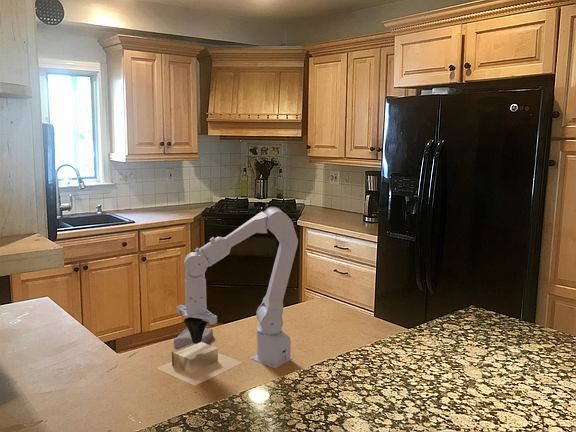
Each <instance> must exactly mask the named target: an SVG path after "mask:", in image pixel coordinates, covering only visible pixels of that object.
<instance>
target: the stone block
mask: <svg viewBox="0 0 576 432" xmlns="http://www.w3.org/2000/svg"><path fill="white" fill-rule="evenodd" d="M213 331H214V330H213V328H208V327H205V329H204V332H203V336H202V341H201V342H203V343H206V344H208V343H209V341H210V340H211V339H213V335H214V333H213ZM192 343H193V342H192V338H191V335H190V332H189V330H188V328H185V329H184V330H183V331H181V332H180V333H179V334H178V335H177V337H175V338H174V339H173V346H174V348H176V349H180V348H183V347H185V346H187V345H190V344H192Z"/></svg>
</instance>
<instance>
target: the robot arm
mask: <svg viewBox="0 0 576 432" xmlns="http://www.w3.org/2000/svg"><path fill="white" fill-rule="evenodd" d="M268 231H269V232H271V233H272V234H273V235H274V237H275V238H276V240H277V241H278V243H279V245H278V247H277V252H276V256H275V260H274V263H273V267H272V272H271V274H270V279H269V282H268V287H267V289H266V294H265V296H264V297H263V298H262V302H261V304H260V305H259V306H258V307H257V309H256V315H255V316H256V318H257V320H258V322H259V323H258V325H257V327H256V355H253V356H251V357H250V360H251V361H253V362H254V361H255V362H257V363H259V364H262V365H265V366H267V367H270V368H274V369H277V368H278V367H280V366H282V365H284V364H286V363H288V362H289V361H291V360H293V358H292V357H291V355H292V354H291V349H292V348H291V346H292V344H291V342H292V341H291V337H290V336H289V335H288V334H287V333H285V332H284V331H283V326H284V320H283V312H284V297H285V295H286V292H287V291H286V290H287V287H288V283H289V279H290V275H291V271H292V268H293V264H294V259H295V257H296V252H297V248H298V245H299V239H298V236H297V232H296V230H295V227H294V222H293V221H292V219H291V218H290V217H289V216H288V214H286V212H283V211H282V210H281V209H280V208H279V207H277V206H270V207H267V208H266V209H265V210H264V211H260V212H259V213H256V214H255V216H253V217H251V218H250V219H249V220H247V221H246V222H244V223H243V224H242V225H239V227H238V228H236V229H234V230H233V231H232V232H230V233H229V234H228V235H226V236H224V237H222V236H217V237H214V236H212V237H211V238H210V239H209V242H207V243H206V244H204V245H203V246H201V247H200V248H199V247H196V248H195V249H194V252H193V251H192V252H191V251H190V252H189V253H187V254H186V256H185V257H184V260H183V265H184V270H185V274H184V276H185V277H184V278H185V279H184V293H185V294H184V295H185V296H184V297H185V299H184V300H185V301H184V302H185V305H184V304H180V305H177V306H176V313H177V314H183V316H182V317H183V318H184V319H183V322H184V324H185V326H186V327H187V329H188V330H189V332H190V335H191V338H192V342H193V343H194V344H198V343H200V342H201V341H202V336H203V332H204V329H205V328H207V325H208V323H209V325H214V324H217V323H218V316H217V315H216V314H213V313H212V312H211V311H209V310H208V309H207V278H206V271H207V269H208V267H212V266H213V265H215V264H216V263H218V262H219V261H221V260H222V259H224V258H225V257H228V255H230V252H231V249H232V247H234V246H236V245H237V244H239V243H241V242H242V241H244V240H247V239H248V238H250V237H251V236H253V235H255V234H268Z"/></svg>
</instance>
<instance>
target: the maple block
mask: <svg viewBox="0 0 576 432" xmlns="http://www.w3.org/2000/svg"><path fill="white" fill-rule="evenodd" d="M218 350H219V348H218V347H217V346H213V345H211V344H208V343H203V342H200V343H198V344H194V343H192V344H190V345H187V346H185V347H183V348H177V349H176V350H173V351H171V362H172V366H175V367H177V368H179V369H182V370H184V371H186V372H189V373H194V372H196V371H198V370H200V369H202V368H204V367H206V366H209V365H211V364H213V363H215V362H217V361H218V353H219V351H218Z"/></svg>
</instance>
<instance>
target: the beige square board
mask: <svg viewBox="0 0 576 432" xmlns="http://www.w3.org/2000/svg"><path fill="white" fill-rule="evenodd" d="M240 364H243V361H240V360H238V359H235V358H232V357H229V356H227V355H224V354H223V353H219V352H218V361H217V362H215V363H213V364H211V365H209V366H206V367H204V368H202V369H200V370H198V371H196V372H194V373H189V372H186V371H184V370H182V369H179V368H177V367H175V366H172V361H170V362H167V363H166V364H162V365H161V366H158V367H156V368H155V369H156V370H159V371H161V372H163V373H165V374H167V375H169V376H172V377H174V378H176V379H178V380H180V381H183V382H185V383H187V384H189V385H190V386H191V385H192V386H194V387H196V386H199V385H200V384H202V383H204V382H206V381H208V380H210V379H212V378H214V377H217V376H218V375H220V374H222V373H224V372H226V371H228V370H231V369H232V368H235V367H237V366H238V365H239V366H240Z"/></svg>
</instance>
